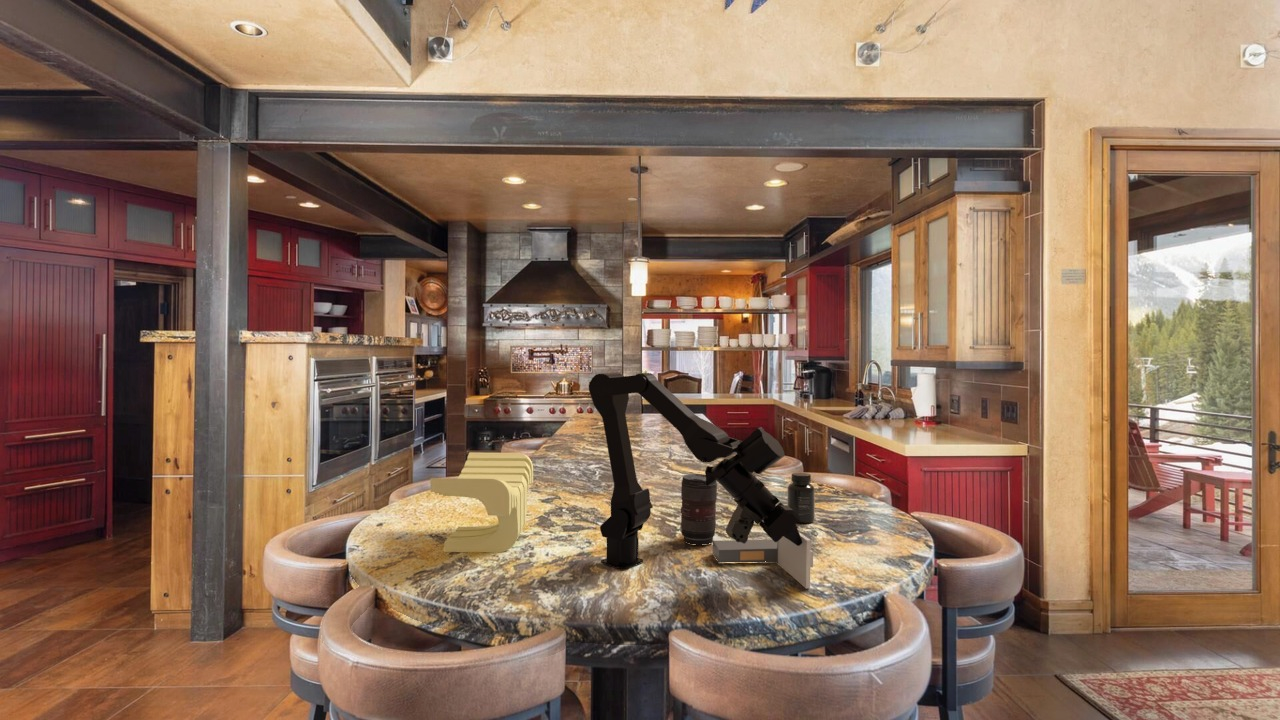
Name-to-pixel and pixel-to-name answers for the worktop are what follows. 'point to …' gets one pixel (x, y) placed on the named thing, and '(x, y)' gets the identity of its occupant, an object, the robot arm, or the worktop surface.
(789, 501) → the supplement bottle
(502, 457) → the slatted curved stool
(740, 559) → the grey rectangular box
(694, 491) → the camera lens
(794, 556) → the side door
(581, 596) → the worktop surface
